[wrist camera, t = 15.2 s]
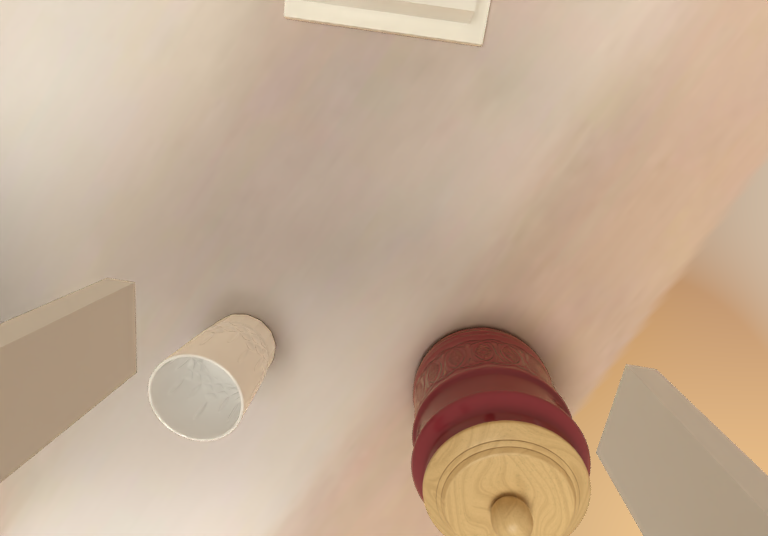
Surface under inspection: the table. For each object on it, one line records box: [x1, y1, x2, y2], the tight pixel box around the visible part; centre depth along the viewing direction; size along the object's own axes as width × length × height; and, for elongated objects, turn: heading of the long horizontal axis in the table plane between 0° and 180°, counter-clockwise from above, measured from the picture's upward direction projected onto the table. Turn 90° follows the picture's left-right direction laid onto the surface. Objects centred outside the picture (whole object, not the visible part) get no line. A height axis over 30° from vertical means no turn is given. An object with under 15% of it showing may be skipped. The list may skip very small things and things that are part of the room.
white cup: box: [148, 314, 276, 441], centre depth 39 cm, size 8×8×10 cm
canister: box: [411, 328, 591, 536], centre depth 35 cm, size 13×13×18 cm
